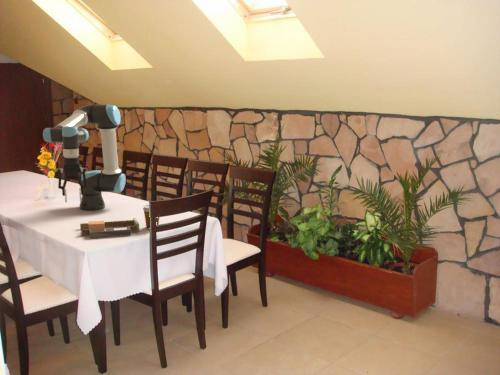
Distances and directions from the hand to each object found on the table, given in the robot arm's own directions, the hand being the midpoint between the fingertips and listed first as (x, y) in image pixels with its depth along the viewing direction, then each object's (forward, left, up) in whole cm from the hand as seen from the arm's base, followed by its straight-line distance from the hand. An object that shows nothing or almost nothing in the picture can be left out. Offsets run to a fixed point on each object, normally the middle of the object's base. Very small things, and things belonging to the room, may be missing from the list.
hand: (73, 201), depth 268 cm
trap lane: (+3, +18, -17) cm, 25 cm away
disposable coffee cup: (+1, +40, -17) cm, 44 cm away
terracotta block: (0, +11, -17) cm, 20 cm away
